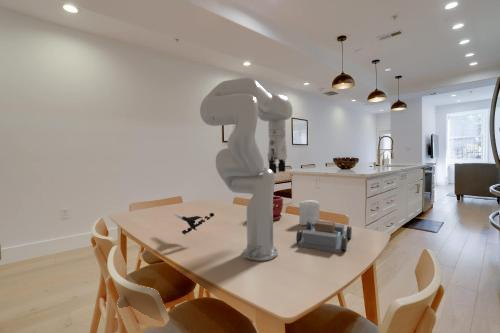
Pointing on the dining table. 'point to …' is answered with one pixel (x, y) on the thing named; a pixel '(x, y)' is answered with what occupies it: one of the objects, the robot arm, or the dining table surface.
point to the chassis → (324, 238)
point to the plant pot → (278, 209)
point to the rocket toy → (192, 221)
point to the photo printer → (308, 212)
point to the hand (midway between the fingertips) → (277, 172)
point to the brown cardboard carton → (325, 226)
